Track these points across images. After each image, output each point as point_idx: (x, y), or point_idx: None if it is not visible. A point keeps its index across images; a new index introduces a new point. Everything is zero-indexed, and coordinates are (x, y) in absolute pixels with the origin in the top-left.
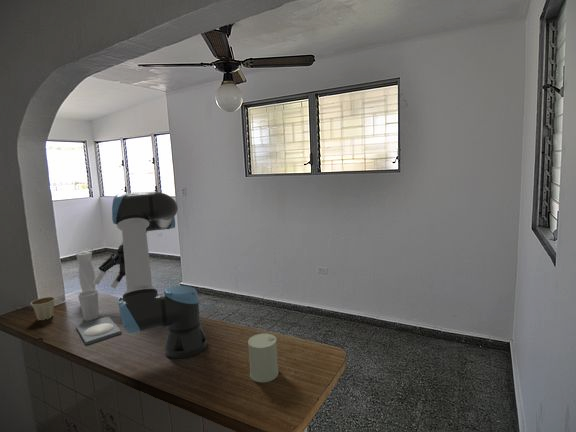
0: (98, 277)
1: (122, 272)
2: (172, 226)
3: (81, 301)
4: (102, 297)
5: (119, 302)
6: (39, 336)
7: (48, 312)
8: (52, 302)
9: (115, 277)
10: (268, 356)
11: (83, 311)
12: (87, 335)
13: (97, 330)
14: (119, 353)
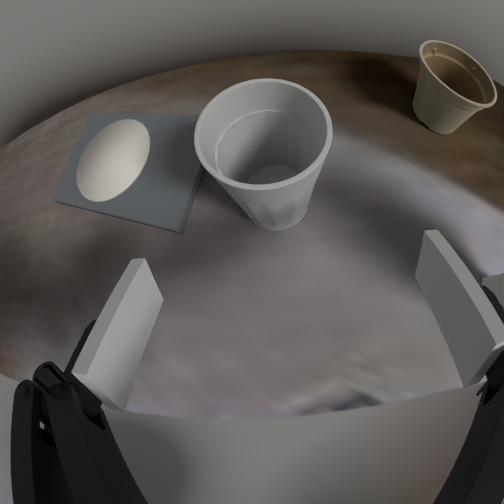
0: (449, 285)
1: (51, 402)
2: None
3: (253, 107)
4: None
5: None
6: (276, 53)
7: (419, 95)
8: (438, 87)
9: (103, 328)
10: None
11: (266, 146)
12: (111, 123)
13: (107, 151)
14: (21, 162)
